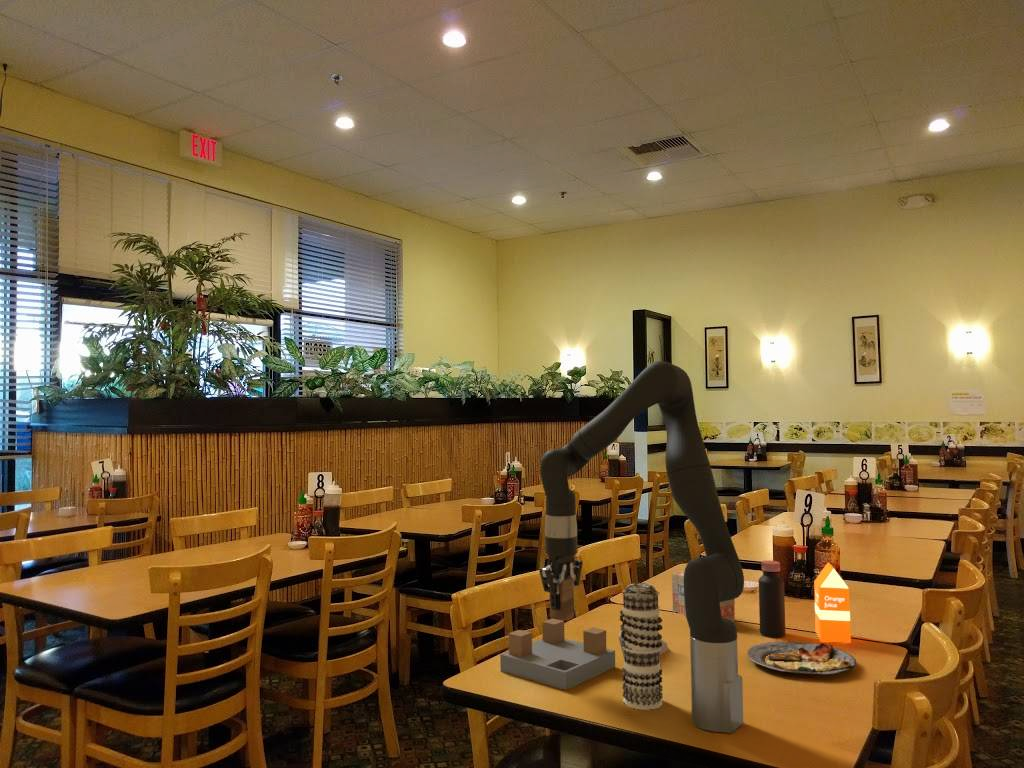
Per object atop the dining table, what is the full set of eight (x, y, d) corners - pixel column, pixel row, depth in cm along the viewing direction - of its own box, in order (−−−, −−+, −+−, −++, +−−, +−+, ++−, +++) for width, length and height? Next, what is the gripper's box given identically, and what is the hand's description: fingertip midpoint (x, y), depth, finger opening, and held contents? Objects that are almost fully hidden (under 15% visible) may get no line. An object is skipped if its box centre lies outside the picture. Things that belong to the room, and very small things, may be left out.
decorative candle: (612, 702, 162) (610, 586, 162) (637, 691, 168) (635, 578, 169) (647, 714, 155) (645, 592, 156) (672, 701, 162) (670, 585, 162)
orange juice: (820, 642, 201) (818, 567, 202) (815, 632, 210) (813, 560, 211) (851, 643, 200) (849, 568, 200) (845, 634, 208) (843, 561, 209)
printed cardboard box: (735, 626, 218) (734, 583, 218) (719, 629, 215) (718, 586, 215) (688, 609, 237) (687, 570, 237) (672, 611, 234) (671, 572, 235)
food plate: (848, 652, 192) (847, 638, 193) (865, 685, 170) (864, 669, 170) (746, 647, 199) (746, 634, 199) (750, 679, 177) (749, 664, 177)
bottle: (782, 631, 212) (780, 559, 213) (788, 638, 205) (786, 564, 206) (757, 630, 212) (755, 559, 213) (763, 637, 206) (761, 564, 207)
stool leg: (573, 616, 175) (573, 578, 175) (563, 620, 172) (562, 581, 172) (560, 613, 177) (559, 575, 178) (549, 617, 174) (549, 578, 175)
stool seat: (615, 666, 184) (614, 630, 184) (565, 690, 169) (565, 650, 169) (551, 650, 197) (551, 616, 198) (500, 670, 182) (500, 633, 183)
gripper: (554, 539, 167) (555, 617, 167) (591, 531, 178) (593, 604, 177) (529, 536, 172) (530, 611, 172) (566, 528, 183) (567, 599, 182)
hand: (562, 607), depth 175 cm, fingers closed on stool leg, 4 cm apart
